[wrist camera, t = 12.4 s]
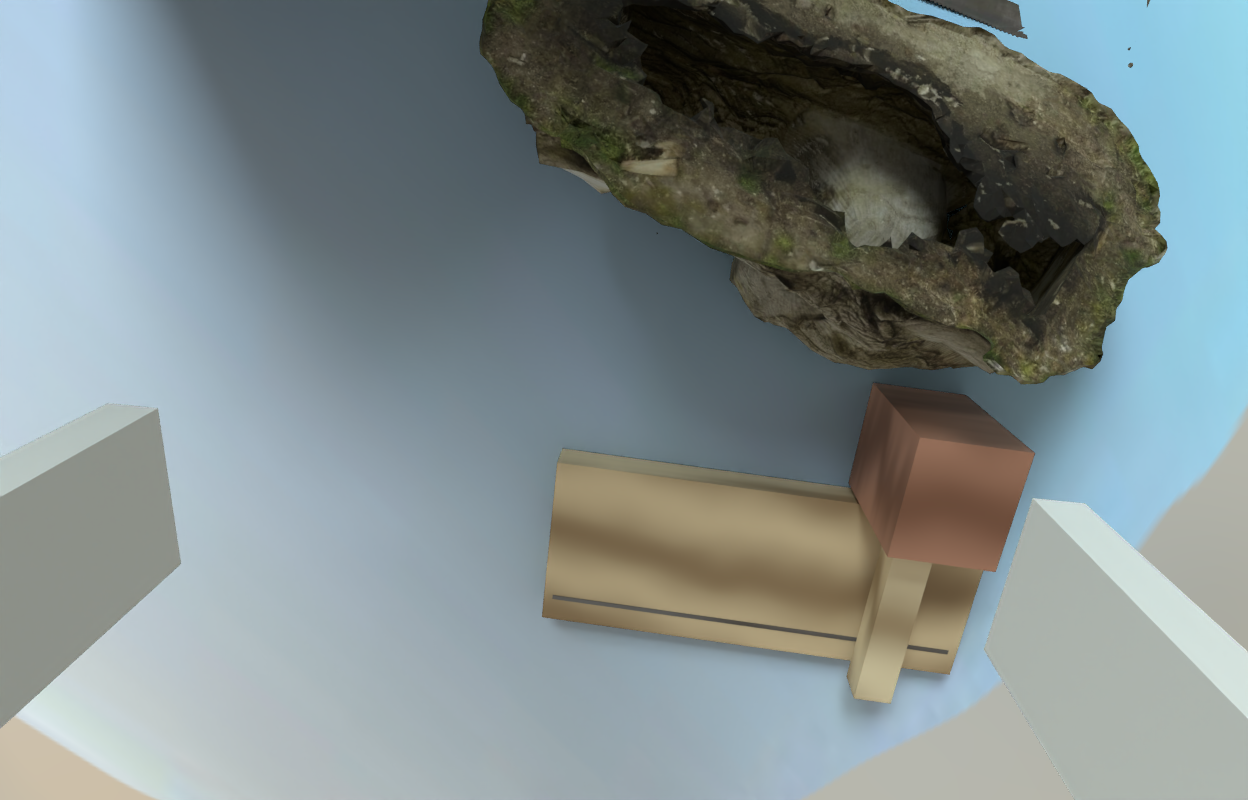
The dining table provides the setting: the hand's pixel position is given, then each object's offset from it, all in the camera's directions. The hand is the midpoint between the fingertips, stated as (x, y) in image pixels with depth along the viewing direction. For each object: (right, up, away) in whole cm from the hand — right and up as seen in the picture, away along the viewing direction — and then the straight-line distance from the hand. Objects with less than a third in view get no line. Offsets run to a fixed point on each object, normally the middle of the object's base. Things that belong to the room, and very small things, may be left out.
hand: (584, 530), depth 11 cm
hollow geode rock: (+9, +14, +25) cm, 30 cm away
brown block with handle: (+15, -5, +31) cm, 35 cm away
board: (+8, -7, +32) cm, 34 cm away
